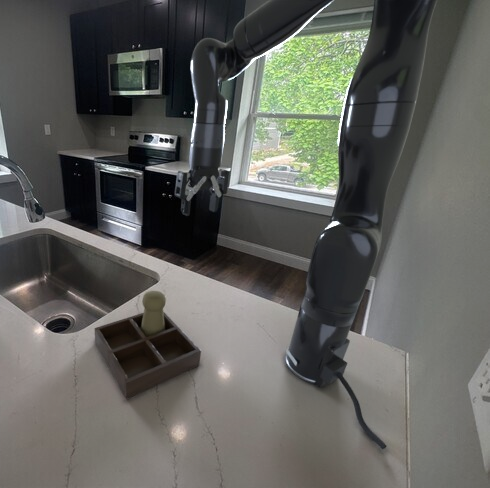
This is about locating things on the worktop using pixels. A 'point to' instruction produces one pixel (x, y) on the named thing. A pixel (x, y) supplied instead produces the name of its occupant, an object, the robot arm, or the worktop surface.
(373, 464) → the worktop surface
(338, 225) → the robot arm
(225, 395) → the worktop surface
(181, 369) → the grid
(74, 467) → the worktop surface
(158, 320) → the yellow peg doll
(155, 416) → the worktop surface
